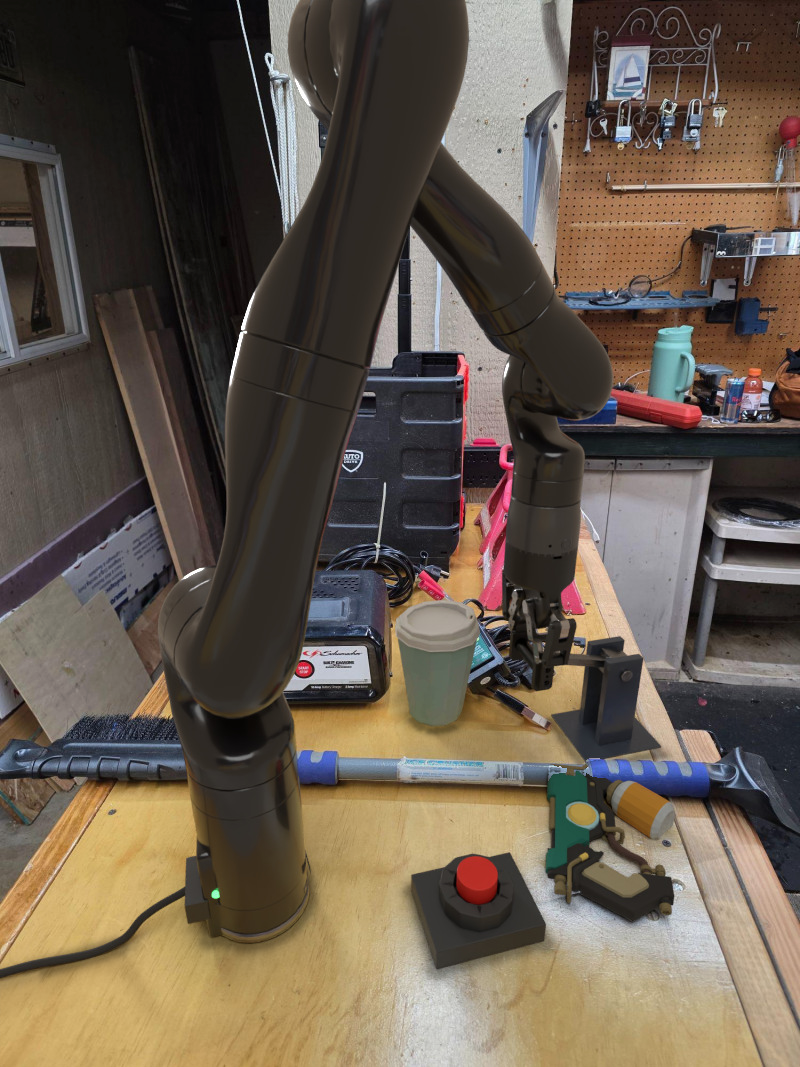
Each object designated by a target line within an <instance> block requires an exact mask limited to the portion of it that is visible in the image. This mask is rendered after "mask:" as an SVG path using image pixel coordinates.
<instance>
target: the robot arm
mask: <svg viewBox="0 0 800 1067" xmlns="http://www.w3.org/2000/svg"><path fill="white" fill-rule="evenodd" d="M469 27H470V24H469V14H468V7H467V3H466V0H299V1H297V4H296V6H295V8H294V11H293V13H292V15H291V18H290V23H289V28H288V32H287V55H288V62H289V67H290V70H291V74H292V76H293V80H294V84H295V85H296V88H297V90H298V92H299V94H300V96H301V98H302V99H303V101H304V102H305V104H306V106H307V107H308V108H309V110H310V111H311V112H312V113H313V115H314V116H315V117H316V119H317V120H318V121H319V122H320V123H321V125H322V126H323V127H324V128H325V129H326V130H327V135H326V141H325V144H324V149H323V153H322V156H321V160H320V163H319V166H318V170H317V172H316V175H315V178H314V181H313V183H312V186H311V188H310V191H309V193H308V194H307V197H306V199H305V201H304V204H302V205H303V206H302V207H301V209H300V211H299V212H298V214H297V216H296V217H295V220H294V221H293V223H292V225H291V226H290V228H289V229H288V231H287V233H286V235H285V236H284V238H283V239H282V241H281V243H280V245H279V246H278V248H277V249H276V251H275V253H274V255H273V256H272V258H271V260H270V261H269V263H268V265H267V266H266V268H265V270H264V271H263V274H262V276H261V277H260V279H259V282H258V284H257V285H256V287H255V289H254V292H253V293H252V296H251V298H250V300H249V303H248V306H247V309H246V311H245V316H244V317H243V318H244V319H243V322H242V325H241V332H240V333H239V338H238V342H237V345H236V346H237V347H236V350H235V355H234V359H233V363H232V368H231V372H230V376H229V382H228V387H227V394H226V402H225V414H224V465H225V466H224V468H225V484H226V485H225V490H226V491H225V492H226V495H225V496H226V512H225V514H226V515H225V526H224V532H223V539H222V544H221V549H220V551H219V552H220V553H219V556H218V560H217V563H216V564H215V565H207V566H204V567H200V568H198V569H195V570H193V571H191V572H189V573H187V574H186V575H184V576H183V577H182V578H181V579H179V580H178V582H176V583H175V584H174V586H172V588H171V589H170V591H169V592H168V593H167V595H166V597H165V598H164V600H163V602H162V605H161V608H160V610H159V615H158V621H157V638H158V645H159V652H160V657H161V663H162V669H163V674H164V680H165V684H166V690H167V695H168V700H169V705H170V711H171V715H172V721H173V724H174V728H175V731H176V734H177V738H178V740H179V744H180V747H181V751H182V755H183V760H184V767H185V772H186V778H187V785H188V791H189V797H190V803H191V809H192V815H193V821H194V827H195V834H196V842H195V844H196V846H195V848H196V849H195V850H196V851H195V855H193V856H188V857H186V858H185V880H184V881H185V882H184V886H183V887H181V888H179V889H178V890H176V891H175V892H173V893H171V894H169V895H167V896H166V897H164V898H162V899H160V900H158V901H157V902H155V903H154V904H152V905H151V906H149V907H148V908H147V909H145V910H144V911H142V912H141V913H140V914H139V915H137V917H136V918H135V920H134V921H132V923H131V925H130V926H129V927H128V929H127V930H126V931H125V932H124V933H123V934H121V935H120V936H118V937H117V938H115V939H113V940H111V941H109V942H106V943H104V944H101V945H98V946H96V947H93V948H89V949H85V950H82V951H77V952H72V953H66V954H59V955H53V956H47V957H43V958H37V959H32V960H27V961H24V962H19V963H17V964H13V965H10V966H9V965H8V966H5V967H2V968H0V979H3V978H7V977H10V976H14V975H17V974H21V973H25V972H29V971H32V970H37V969H42V968H48V967H54V966H59V965H66V964H72V963H76V962H82V961H85V960H90V959H93V958H96V957H99V956H102V955H104V954H106V953H109V952H111V951H113V950H116V949H117V948H119V947H120V946H122V945H124V944H126V943H127V942H128V941H129V940H131V939H132V938H133V936H134V935H136V933H137V932H138V930H139V929H140V927H141V926H142V925H143V924H144V923H145V922H146V921H147V920H148V919H149V918H151V917H152V916H153V915H155V914H156V913H158V912H160V911H161V910H163V909H164V908H166V907H168V906H169V905H171V904H173V903H175V902H177V901H178V900H180V899H182V898H184V911H185V916H186V921H187V924H188V925H190V924H195V923H199V922H203V921H206V924H207V931H208V935H209V936H208V937H210V938H215V937H218V936H223V937H224V938H226V939H229V940H231V941H233V942H238V943H247V944H254V943H260V942H265V941H268V940H271V939H274V938H276V937H278V936H280V935H281V934H284V933H285V932H286V931H288V930H289V929H290V928H291V927H293V925H295V924H296V922H298V920H299V919H300V918H301V916H302V915H303V913H304V912H305V910H306V907H307V906H308V902H309V899H310V879H309V875H312V869H311V865H310V864H311V863H310V860H309V857H308V854H307V850H306V843H305V831H304V821H303V820H304V819H303V818H304V817H303V808H302V794H301V782H300V772H299V758H298V748H297V746H298V745H297V737H296V736H297V735H296V725H295V719H294V716H293V713H292V711H291V708H290V705H289V703H288V701H287V699H286V698H287V697H286V696H285V694H284V691H285V690H286V689H287V688H288V686H289V684H290V683H291V681H292V679H293V677H294V676H295V673H296V672H297V669H298V666H299V664H300V661H301V657H302V653H303V649H304V645H305V639H306V635H307V634H306V633H307V627H308V622H309V615H310V610H311V603H312V597H313V591H314V586H315V578H316V572H317V568H318V562H319V556H320V552H321V547H322V543H323V542H322V541H323V538H324V534H325V530H326V527H327V524H328V520H329V516H330V514H331V510H332V506H333V502H334V498H335V494H336V491H337V487H338V484H339V479H340V475H341V472H342V468H343V464H344V461H345V457H346V456H345V455H346V453H347V448H348V444H349V442H350V439H351V435H352V432H353V430H354V427H355V423H356V421H357V417H358V414H359V410H360V407H361V404H362V400H363V396H364V393H365V389H366V385H367V383H368V379H369V374H370V369H371V366H372V364H373V359H374V354H375V351H376V345H377V342H378V339H379V338H378V337H379V333H380V330H381V325H382V323H383V320H384V315H385V312H386V308H387V305H388V302H389V299H390V295H391V292H392V289H393V286H394V283H395V282H394V281H395V278H396V275H397V272H398V268H399V264H400V261H401V258H402V254H403V250H404V247H405V244H406V241H407V240H406V239H407V237H408V234H409V231H410V228H411V229H412V230H413V231H414V232H415V234H416V235H417V236H418V238H419V239H420V240H421V241H422V243H423V244H424V245H425V247H426V248H427V249H428V251H429V252H430V253H431V255H432V256H433V257H434V258H435V260H436V261H437V263H438V264H439V266H440V267H441V268H442V270H443V272H444V273H445V274H446V276H447V277H448V278H449V280H450V282H451V284H452V285H453V287H454V288H455V290H456V291H457V293H458V294H459V296H460V297H461V299H462V301H463V302H464V304H465V305H466V308H467V309H468V310H469V312H470V314H471V315H472V317H473V318H474V321H475V322H476V323H477V325H478V327H479V328H480V329H481V331H482V333H483V334H484V336H485V337H486V339H487V340H488V341H489V343H490V344H491V345H492V346H493V347H494V348H495V349H497V350H498V351H500V352H501V353H503V354H506V355H508V357H507V360H506V362H505V364H504V368H503V372H502V379H501V394H502V401H503V407H504V413H505V419H506V424H507V429H508V434H509V440H510V444H511V449H512V452H513V464H512V478H511V494H510V499H509V500H510V501H509V504H508V508H507V515H506V528H505V529H506V530H505V542H504V555H503V556H504V557H503V569H502V570H501V598H502V599H501V604H502V605H501V612H502V613H501V614H502V617H503V619H508V621H507V628H508V630H509V631H510V636H509V648H508V657H509V658H510V659H511V661H512V662H517V661H525V660H524V659H523V657H522V656H521V655H520V654H519V652H518V651H517V650H516V648H515V643H516V641H517V640H518V639H520V638H525V639H527V640H528V642H529V643H530V644H532V646H533V652H534V660H533V670H532V669H531V670H532V671H531V680H530V681H531V682H530V687H531V688H532V690H533V691H535V692H542V691H548V690H550V689H551V688H553V682H554V681H553V680H554V674H555V673H554V672H555V667H560V666H568V665H567V664H568V661H569V656H570V654H571V652H572V648H573V643H574V641H575V635H576V632H577V627H578V626H577V625H578V624H577V621H576V618H574V617H572V618H566V616H565V615H564V614H563V612H562V611H563V602H562V601H563V600H562V593H563V591H564V590H566V589H567V587H569V586H570V585H571V584H573V582H574V580H575V576H576V569H577V561H578V560H577V559H578V551H579V542H580V535H581V534H580V532H581V524H582V511H581V510H582V509H581V508H582V506H581V502H582V491H583V483H584V476H585V475H584V474H585V467H586V466H585V464H586V454H585V450H584V448H583V446H582V445H581V444H580V443H579V442H577V441H576V440H575V439H573V438H572V437H570V436H568V435H567V434H565V433H564V432H563V431H562V429H561V428H560V425H559V421H558V418H559V419H563V420H568V421H583V420H588V419H591V418H592V417H594V416H596V415H598V413H600V412H601V411H602V410H604V408H605V406H606V405H607V404H608V402H609V400H610V398H611V395H612V392H613V387H614V371H613V366H612V361H611V359H610V356H609V354H608V351H607V350H606V348H605V347H604V345H603V344H602V342H601V341H600V339H598V337H597V336H596V334H594V332H593V331H592V330H591V328H589V327H588V326H587V325H586V323H585V322H584V321H583V320H582V319H581V318H580V317H579V315H577V314H576V313H575V311H574V310H572V308H571V307H570V306H569V305H567V304H566V303H565V302H564V301H563V299H561V298H560V296H559V295H558V293H557V290H556V288H555V286H554V284H553V282H552V280H551V277H550V276H549V273H548V272H547V270H546V268H545V266H544V264H543V262H542V260H541V258H540V256H539V254H538V252H537V250H536V248H535V246H534V244H533V243H532V241H531V240H530V237H528V235H527V234H526V233H525V231H524V229H522V227H521V226H520V225H519V224H518V223H517V221H516V220H515V219H514V218H513V217H512V216H511V215H510V213H509V212H508V211H507V210H506V209H505V208H504V207H503V206H502V205H500V203H499V202H497V201H496V200H495V198H494V197H493V196H491V195H490V194H489V193H488V192H487V191H486V190H485V189H484V188H483V187H482V186H481V185H480V184H479V183H477V181H475V180H474V179H473V178H472V176H471V175H470V174H469V173H468V172H467V171H466V170H465V169H464V168H463V167H462V166H461V165H460V164H459V162H458V161H457V160H456V159H455V158H454V157H453V155H452V154H451V153H450V151H449V150H448V149H447V147H446V146H445V144H443V142H442V141H443V138H444V136H445V133H446V131H447V129H448V126H449V123H450V121H451V118H452V115H453V112H454V110H455V106H456V103H457V101H458V98H459V95H460V92H461V89H462V86H463V82H464V78H465V73H466V69H467V68H466V67H467V64H468V55H469V44H470V37H469V36H470V28H469ZM543 629H545V630H546V631H545V632H537V630H543ZM543 642H544V647H542V643H543ZM308 870H309V873H310V874H308Z"/></svg>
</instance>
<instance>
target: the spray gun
mask: <svg viewBox="0 0 800 1067" xmlns="http://www.w3.org/2000/svg"><path fill="white" fill-rule="evenodd" d="M549 765H554V766H557V767H559V766H561V767H562V768H567V772H566V773H559V774H553V775H552V776H551V778H550V779H549V781H548V783H547V782H546V784H547V785H546V788H547V789H546V798H547V801H548V802H549V832H550V833H551V836H550V837H551V838H550V839H551V841H550V842H551V843H550V845H551V847H547V850H546V853H545V874H547V876H546V877H547V878H548V879H552V880H553V882H554V885H553V886H554V888H553V889H554V890H553V893H554V894H555V895H561V896H562V898H564V897H565V896H566V903H567V904H571V902H572V896H573V897H577V896H579V894H580V895H582V896H583V897H586V898H587V899H589V900H591V901H593V902H595V903H597V904H599V905H601V906H602V907H604V908H606V909H608V910H610V911H611V912H614V913H615V914H617V915H619V916H621V917H623V918H625V919H627V920H628V921H630V922H634V923H635V921H637V920H639V919H641V918H643V917H645V915H647V914H649V913H651V912H652V911H654V910H657V908H658V909H659V912H660V914H661V915H663V916H670V915H672V913H673V907H672V906H674V904H675V892H674V885H673V879H672V877H671V876H668V875H667V872H666V869H665V867H664V865H663V864H656V865H655V868H653V867H651V865H650V864H649V863H648V861H647V860H646V859H645V858H644V857H643V856H641V855H639V854H637V853H634V852H633V851H631V850H629V849H628V848H625V847H624V846H622V845H623V844H624V843H625V838H626V834H625V830H624V829H623V828H621V827H619V826H616V818H615V815H616V816H617V817H618V818H619V819H621V820H622V821H624V822H625V823H627V824H628V825H630V826H632V827H633V828H634V829H636V830H637V831H639V832H640V833H642V834H643V835H645V836H646V837H648V838H649V839H650V840H659V839H661V838H662V836H663V835H664V834H665V833H666V832H668V830H669V829H671V828H672V826H673V824H674V822H675V819H676V812H675V807H674V805H673V803H672V802H671V801H669V799H666V798H665V797H662V796H661V795H659V794H657V793H656V792H654V791H652V790H650V789H649V788H647V787H645V786H644V785H642V784H641V783H638V782H636V781H633V780H626V781H623V780H621V779H616V780H614V781H613V782H612V781H611V780H610V779H609V778H607V777H605V778H597V777H592V776H590V775H589V774H587V773H586V776H584V775H583V774H582V773H583V771H584V770H585V769H586V768H587V767H588V766H589V765H588V764H586V763H584V764H582V765H581V766H578V765H568V764H559V763H550V764H549ZM604 796H605V799H604ZM605 800H606V801H605ZM605 802H606V803H607V804H608V805H610V806H611V808H610V807H609V806H608V805H607V804H606V803H605ZM617 833H619V838H618V840H617V839H616V837H615V836H616V834H617ZM599 838H601V840H602V841H604V842H605V843H609V845H610V846H611V847H612V848H613V849H614V850H615V851H616V852H617V853H619V854H620V855H621V856H623V857H625V858H627V859H628V860H631V861H632V862H635V863H637V864H638V865H640V868H639V869H640V872H635V873H633V874H631V875H629V876H626V875H625V874H623V873H621V872H619V871H618V870H616V869H614V868H613V867H611V866H609V865H607V864H606V863H604V862H602V861H600V859H602V858H603V857H604V855H605V851H603V850H600V851H597V850H594V849H593V848H592V847H591V846H590V842H592V841H594V840H597V839H599ZM572 892H573V893H572Z"/></svg>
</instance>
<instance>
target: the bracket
mask: <svg viewBox="0 0 800 1067" xmlns="http://www.w3.org/2000/svg"><path fill="white" fill-rule="evenodd" d="M625 642H626V640H625V639H624V638H623V637H622V636H621V635H618V636H611V637H605V638H599V639H593V640H588V641H587V644H586V653H585V655H598V656H599V655H600V652H601V649H602V648H606V649H620V650H622V651H623V652H624V648H625ZM627 655H628V656H622V657H616V658H610V659H605V665H604V673H602V672H601V670H600V669H599V668H598V667H588V666H584V671H583V680H582V688H581V697H580V705H579V709H574V710H568V711H563V712H557V713H552V714H551V715H550V716H551V718H552V719H553V721H554V722H555V723H556V725H557V726H558V727H559V729H560V730H561V732H562V733H563V734H564V736H565V737H566V738H567V739H568V741H569V742H570V744H571V745H572V746H573V748H574V749H575V750H576V752H577V753H578V754H579V756H580V757H581V759H582V760H583V761H584V764H586V760H587V759H589V758H600V759H602V760H607V759H612V758H617V757H622V756H627V755H632V754H637V753H641V752H642V753H643V752H647V751H651V750H656V749H661V748H662V745H661V744H660V743H659V742H658V741H657V739H656V738H655V737H654V736H653V735H652V734H651V733H650V732H649V731H648V730H647V729H646V727H645V726H643V724H642V723H641V722H640V721H639V720H638V719H637V717H636V711H637V704H638V697H639V692H640V691H639V690H640V684H641V679H642V678H641V677H642V670H643V666H644V656H642V655H641V654H640V653H635V654H627Z"/></svg>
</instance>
